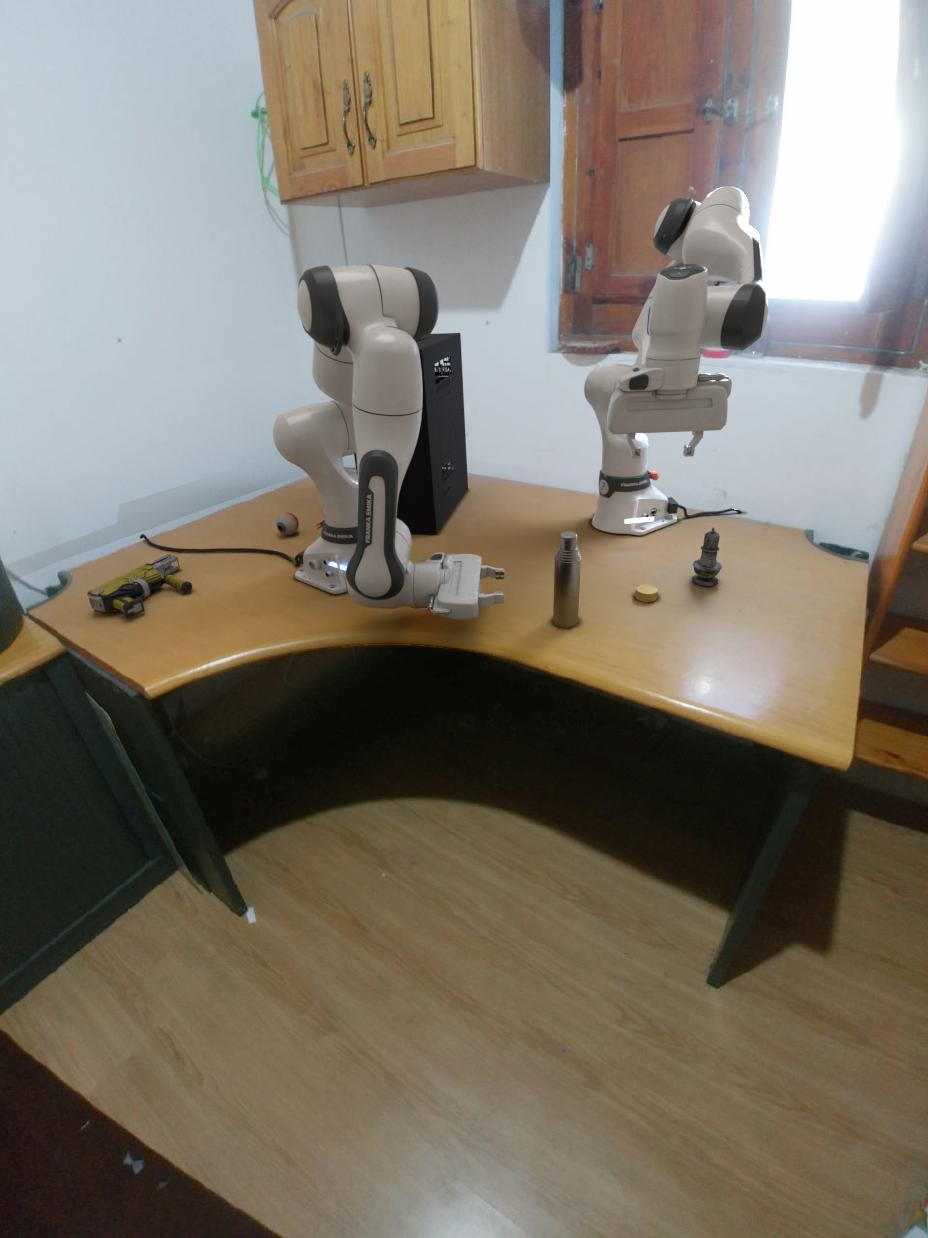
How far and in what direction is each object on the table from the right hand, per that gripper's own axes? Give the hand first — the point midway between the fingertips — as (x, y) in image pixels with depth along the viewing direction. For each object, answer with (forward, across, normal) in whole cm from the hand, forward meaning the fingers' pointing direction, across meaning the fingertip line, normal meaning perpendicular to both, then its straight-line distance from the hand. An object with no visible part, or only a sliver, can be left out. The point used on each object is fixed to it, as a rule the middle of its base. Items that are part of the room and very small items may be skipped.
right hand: (661, 456), depth 109 cm
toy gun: (+29, +108, -5) cm, 112 cm away
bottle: (+29, +17, +9) cm, 35 cm away
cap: (+28, 0, 0) cm, 28 cm away
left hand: (+21, +29, +9) cm, 37 cm away
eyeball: (+29, +88, -40) cm, 101 cm away
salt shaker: (+29, -14, -7) cm, 33 cm away
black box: (+29, +54, -57) cm, 84 cm away
